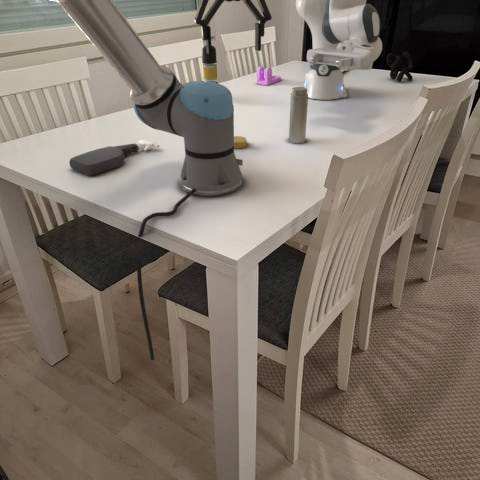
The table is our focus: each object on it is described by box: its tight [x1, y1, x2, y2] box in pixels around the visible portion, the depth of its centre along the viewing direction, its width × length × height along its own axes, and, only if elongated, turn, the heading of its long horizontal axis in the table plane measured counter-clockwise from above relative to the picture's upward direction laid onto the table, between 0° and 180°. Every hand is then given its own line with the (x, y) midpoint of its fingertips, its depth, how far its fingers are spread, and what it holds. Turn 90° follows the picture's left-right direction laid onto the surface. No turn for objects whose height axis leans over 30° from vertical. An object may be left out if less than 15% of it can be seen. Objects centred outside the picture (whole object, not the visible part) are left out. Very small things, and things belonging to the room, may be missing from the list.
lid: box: [234, 135, 248, 149], centre depth 133 cm, size 6×6×2 cm
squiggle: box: [385, 51, 414, 83], centre depth 198 cm, size 11×10×15 cm
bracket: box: [256, 66, 282, 86], centre depth 200 cm, size 13×6×7 cm, turn 143°
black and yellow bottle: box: [201, 23, 219, 84], centre depth 171 cm, size 6×6×30 cm
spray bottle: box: [68, 139, 160, 177], centre depth 124 cm, size 3×11×24 cm
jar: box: [288, 86, 309, 144], centre depth 132 cm, size 5×5×16 cm
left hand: (233, 51), depth 119 cm, fingers open, 13 cm apart
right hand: (324, 62), depth 132 cm, fingers open, 8 cm apart
